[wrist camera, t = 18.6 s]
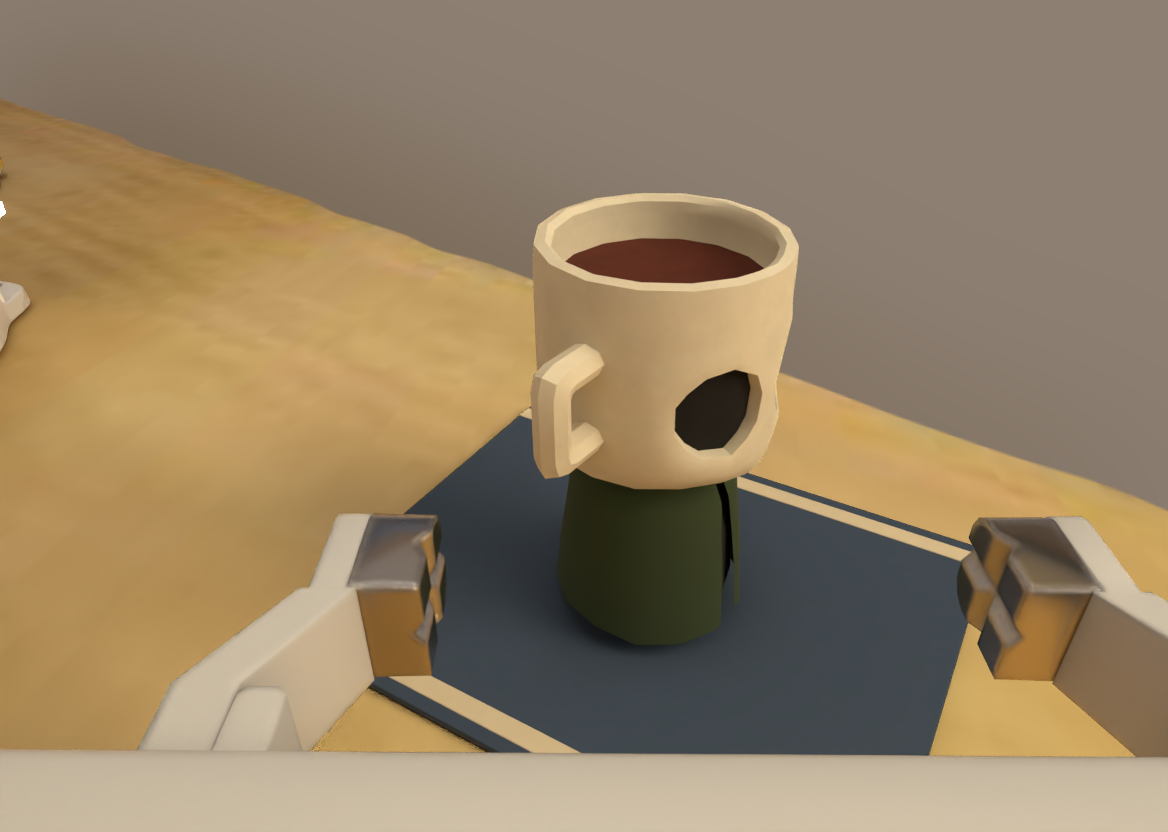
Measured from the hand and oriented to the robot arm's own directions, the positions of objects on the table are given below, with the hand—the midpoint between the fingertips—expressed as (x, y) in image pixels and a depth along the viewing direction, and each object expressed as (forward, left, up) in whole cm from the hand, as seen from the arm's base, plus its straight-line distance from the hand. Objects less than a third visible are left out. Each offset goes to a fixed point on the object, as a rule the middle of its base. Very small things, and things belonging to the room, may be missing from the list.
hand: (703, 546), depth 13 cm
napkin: (-6, +10, -13) cm, 18 cm away
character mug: (-6, +10, -13) cm, 17 cm away
